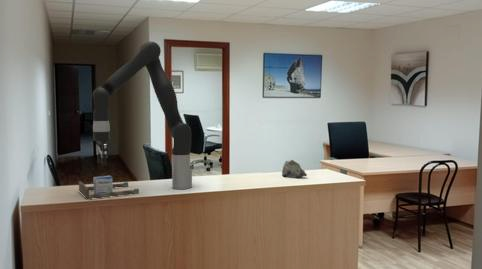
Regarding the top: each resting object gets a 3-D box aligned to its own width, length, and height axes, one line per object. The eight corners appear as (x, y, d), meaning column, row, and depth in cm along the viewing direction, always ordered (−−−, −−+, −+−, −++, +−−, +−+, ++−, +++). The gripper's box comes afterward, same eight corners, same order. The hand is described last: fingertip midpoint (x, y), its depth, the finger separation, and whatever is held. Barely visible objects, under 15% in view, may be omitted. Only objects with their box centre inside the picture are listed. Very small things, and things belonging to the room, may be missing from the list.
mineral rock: (307, 178, 250) (308, 161, 249) (291, 180, 246) (291, 162, 245) (295, 175, 262) (295, 158, 261) (279, 176, 258) (279, 159, 257)
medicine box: (96, 196, 208) (96, 178, 208) (93, 194, 212) (92, 176, 211) (113, 194, 213) (112, 176, 212) (109, 192, 217) (109, 174, 216)
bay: (127, 186, 230) (127, 176, 230) (138, 193, 213) (138, 183, 213) (79, 191, 218) (78, 181, 218) (87, 199, 201) (86, 189, 201)
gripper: (113, 131, 205) (114, 166, 207) (105, 129, 218) (106, 161, 219) (96, 131, 202) (97, 167, 203) (90, 129, 214) (90, 163, 215)
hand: (102, 164), depth 211 cm, fingers open, 8 cm apart
